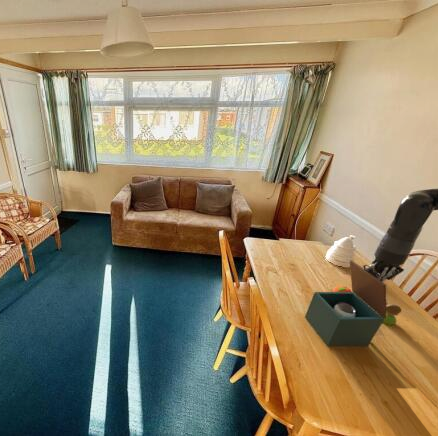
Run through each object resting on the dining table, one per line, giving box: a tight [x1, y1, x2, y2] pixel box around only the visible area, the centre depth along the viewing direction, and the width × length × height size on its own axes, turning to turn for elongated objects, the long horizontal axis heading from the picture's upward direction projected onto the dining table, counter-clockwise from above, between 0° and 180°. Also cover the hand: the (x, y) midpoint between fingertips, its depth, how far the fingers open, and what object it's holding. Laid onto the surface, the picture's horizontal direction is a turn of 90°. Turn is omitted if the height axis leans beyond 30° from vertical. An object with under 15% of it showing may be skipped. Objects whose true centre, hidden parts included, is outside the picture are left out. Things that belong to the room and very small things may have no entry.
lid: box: [349, 260, 387, 319], centre depth 85 cm, size 17×14×1 cm
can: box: [334, 302, 355, 317], centre depth 92 cm, size 6×6×12 cm
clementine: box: [333, 285, 352, 292], centre depth 110 cm, size 8×7×7 cm
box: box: [304, 291, 384, 347], centre depth 92 cm, size 16×14×14 cm
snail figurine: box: [382, 299, 402, 326], centre depth 96 cm, size 5×6×12 cm
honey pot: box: [325, 234, 357, 268], centre depth 136 cm, size 13×13×18 cm
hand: (373, 287), depth 85 cm, fingers closed
